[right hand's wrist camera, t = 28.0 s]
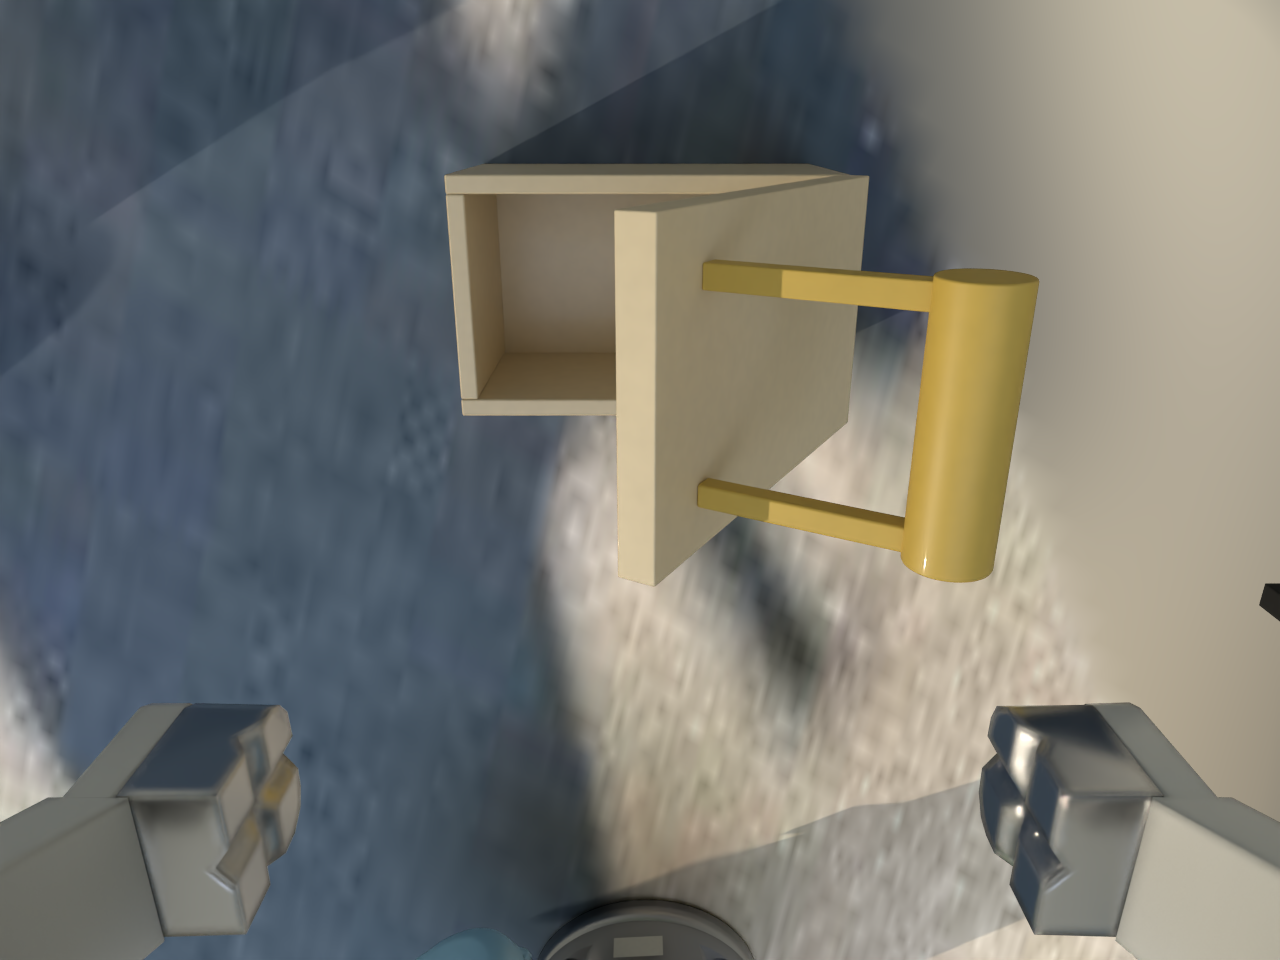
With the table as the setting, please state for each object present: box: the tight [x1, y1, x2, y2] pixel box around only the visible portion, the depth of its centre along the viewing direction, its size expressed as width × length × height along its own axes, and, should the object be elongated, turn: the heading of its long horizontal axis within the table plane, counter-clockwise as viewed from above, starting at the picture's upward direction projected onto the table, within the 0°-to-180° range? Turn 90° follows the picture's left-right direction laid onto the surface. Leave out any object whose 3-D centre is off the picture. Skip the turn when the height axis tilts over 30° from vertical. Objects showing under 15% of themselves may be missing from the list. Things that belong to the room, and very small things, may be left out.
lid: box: [614, 175, 1039, 587], centre depth 27 cm, size 16×10×9 cm
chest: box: [445, 164, 849, 415], centre depth 40 cm, size 15×10×9 cm, turn 90°
